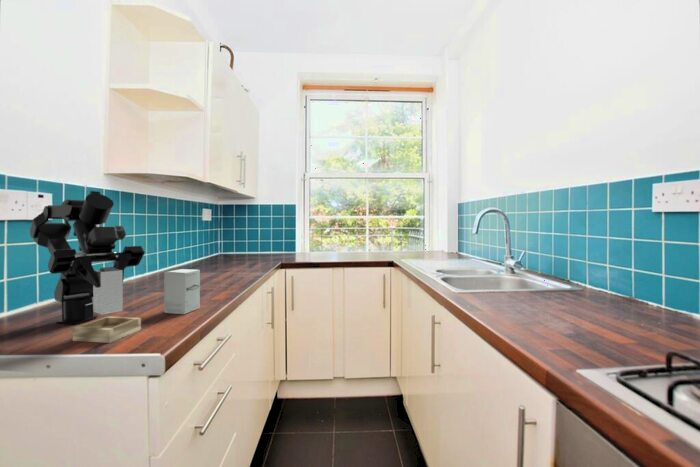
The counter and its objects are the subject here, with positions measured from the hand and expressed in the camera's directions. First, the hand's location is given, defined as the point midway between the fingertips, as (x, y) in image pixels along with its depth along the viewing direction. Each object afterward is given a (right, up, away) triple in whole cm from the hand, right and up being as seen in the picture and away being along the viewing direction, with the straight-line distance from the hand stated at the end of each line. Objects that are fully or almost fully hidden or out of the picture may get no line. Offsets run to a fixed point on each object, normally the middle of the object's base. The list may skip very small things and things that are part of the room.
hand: (110, 284), depth 80 cm
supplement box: (+6, -12, +24) cm, 27 cm away
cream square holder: (-1, -12, +1) cm, 13 cm away
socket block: (-1, -7, +1) cm, 7 cm away
